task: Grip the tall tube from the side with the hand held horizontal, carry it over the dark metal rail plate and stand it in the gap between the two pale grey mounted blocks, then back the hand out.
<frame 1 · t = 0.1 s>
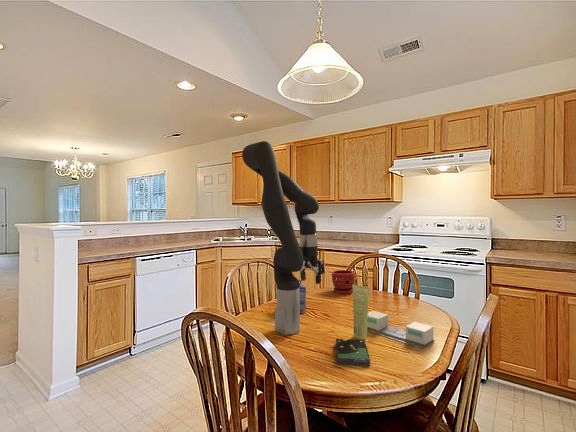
hand: (310, 282, 135), 17 cm above the table, tool pointing down, fingers open, 8 cm apart
tube: (360, 337, 119), on the table
mounted blocks: (396, 326, 121), on the rail plate, point 3 cm above the table
plant pot: (343, 292, 183), on the table
ink cartridge box: (297, 310, 151), on the table
disk drive: (351, 356, 105), on the table
rail plate: (396, 334, 121), on the table
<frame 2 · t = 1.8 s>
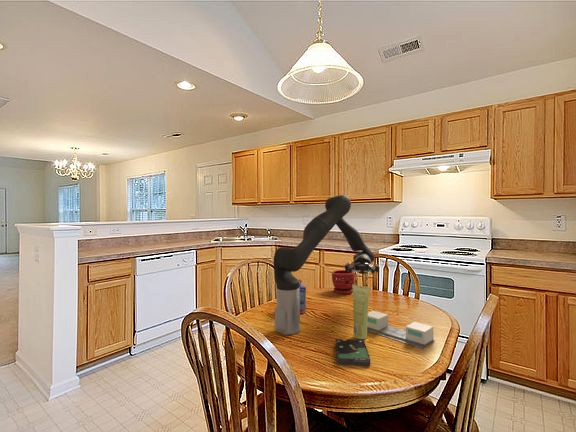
hand: (361, 271, 129), 23 cm above the table, tool horizontal, fingers open, 8 cm apart
nothing on the table moved.
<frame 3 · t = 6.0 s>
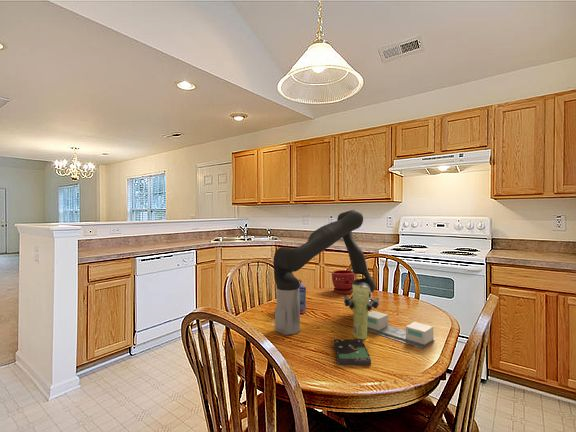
hand: (360, 307, 116), 12 cm above the table, tool horizontal, fingers closed on tube, 5 cm apart
tube: (360, 337, 119), on the table, touching gripper
everything else where it was.
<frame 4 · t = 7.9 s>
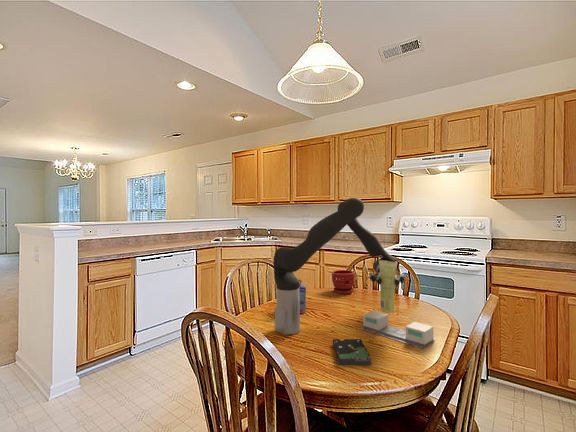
hand: (388, 282, 118), 21 cm above the table, tool horizontal, fingers closed on tube, 5 cm apart
tube: (387, 311, 121), point 9 cm above the table, touching gripper
everything else where it was.
when the fingers open (14 cm above the table, at t = 9.9 s): tube moves 2 cm, resting on rail plate.
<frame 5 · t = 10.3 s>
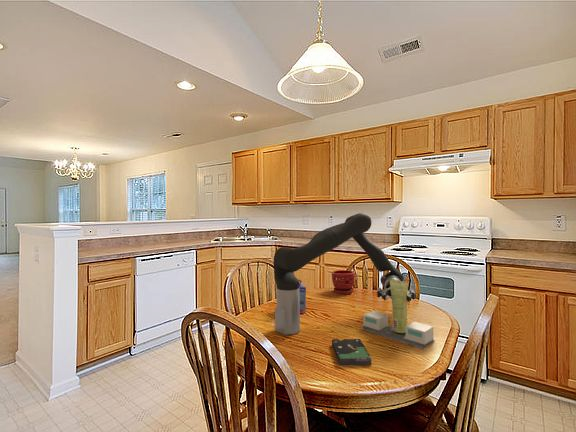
hand: (396, 298, 119), 14 cm above the table, tool horizontal, fingers open, 8 cm apart
tube: (401, 331, 121), point 1 cm above the table, touching gripper, rail plate
everything else where it was.
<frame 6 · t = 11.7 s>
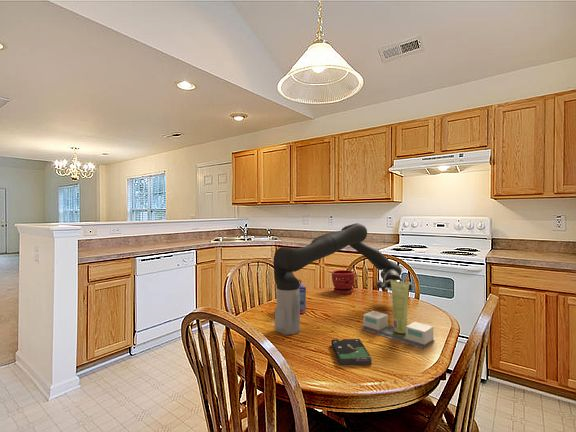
hand: (394, 289, 131), 15 cm above the table, tool horizontal, fingers open, 8 cm apart
tube: (401, 332, 121), point 1 cm above the table, touching rail plate
everything else where it was.
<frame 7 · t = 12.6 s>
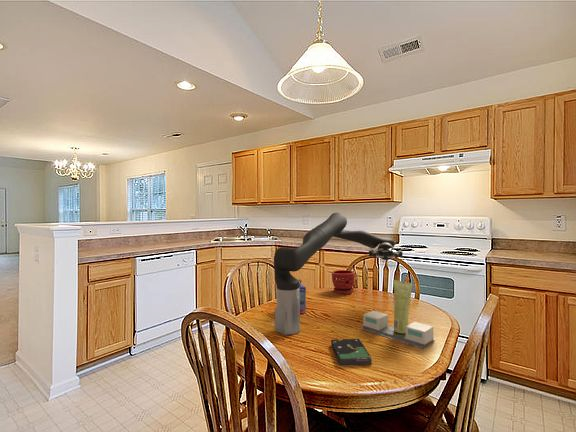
hand: (385, 255, 135), 28 cm above the table, tool horizontal, fingers open, 8 cm apart
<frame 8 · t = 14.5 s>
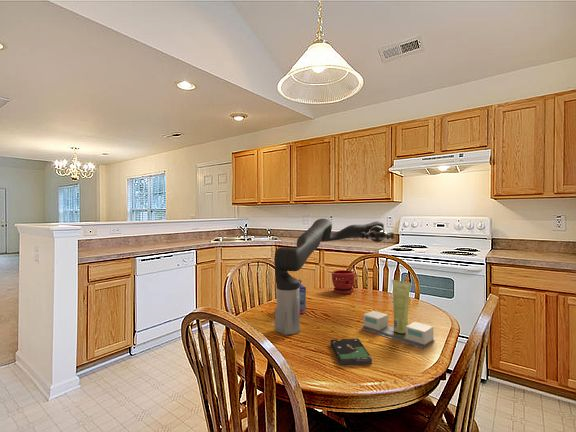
hand: (377, 236, 139), 36 cm above the table, tool horizontal, fingers open, 8 cm apart
at the end: tube inside the target area (1.8 cm from its centre), point 0.9 cm above the table; tube tilted 1°; the gripper is holding nothing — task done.
